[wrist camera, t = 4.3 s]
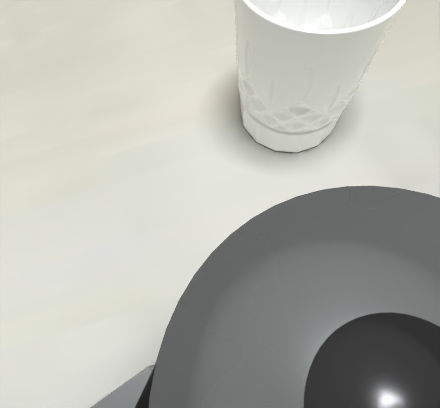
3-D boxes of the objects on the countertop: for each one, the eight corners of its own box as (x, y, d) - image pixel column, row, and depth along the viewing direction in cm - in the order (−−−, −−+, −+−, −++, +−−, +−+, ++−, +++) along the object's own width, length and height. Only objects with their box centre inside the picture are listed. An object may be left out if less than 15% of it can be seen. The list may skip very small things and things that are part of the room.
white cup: (212, 102, 25) (200, -42, 15) (296, 57, 26) (331, -99, 17) (275, 181, 22) (306, 61, 13) (366, 125, 23) (452, -18, 14)
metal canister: (357, 382, 14) (860, 522, 3) (261, 463, 13) (427, 1191, 2) (282, 282, 16) (401, 119, 5) (193, 346, 15) (61, 340, 4)
